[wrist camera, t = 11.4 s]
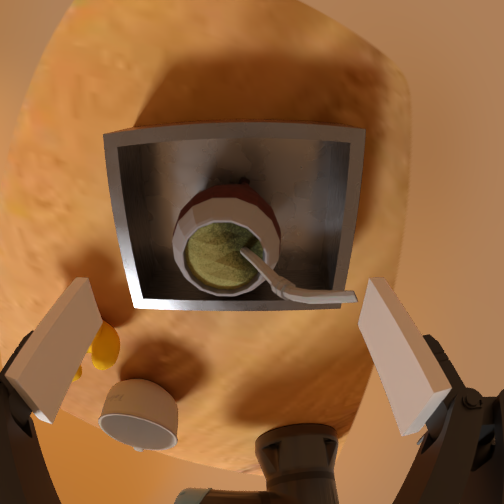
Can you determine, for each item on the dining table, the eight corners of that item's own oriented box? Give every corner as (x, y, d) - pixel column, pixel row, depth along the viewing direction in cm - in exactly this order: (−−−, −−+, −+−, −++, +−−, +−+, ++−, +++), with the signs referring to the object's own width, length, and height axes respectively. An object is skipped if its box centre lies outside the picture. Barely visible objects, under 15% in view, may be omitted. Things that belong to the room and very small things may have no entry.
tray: (326, 273, 28) (340, 308, 23) (151, 273, 28) (134, 307, 23) (340, 123, 21) (365, 129, 16) (132, 127, 21) (103, 134, 16)
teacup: (119, 357, 34) (100, 405, 27) (194, 386, 36) (186, 436, 29) (108, 401, 40) (95, 439, 32) (168, 423, 42) (161, 463, 35)
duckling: (57, 327, 32) (24, 380, 23) (46, 295, 29) (6, 349, 20) (131, 344, 32) (106, 409, 24) (125, 311, 30) (93, 379, 21)
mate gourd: (178, 233, 25) (115, 371, 11) (210, 147, 21) (146, 216, 8) (258, 263, 26) (266, 414, 13) (298, 183, 23) (364, 297, 9)
